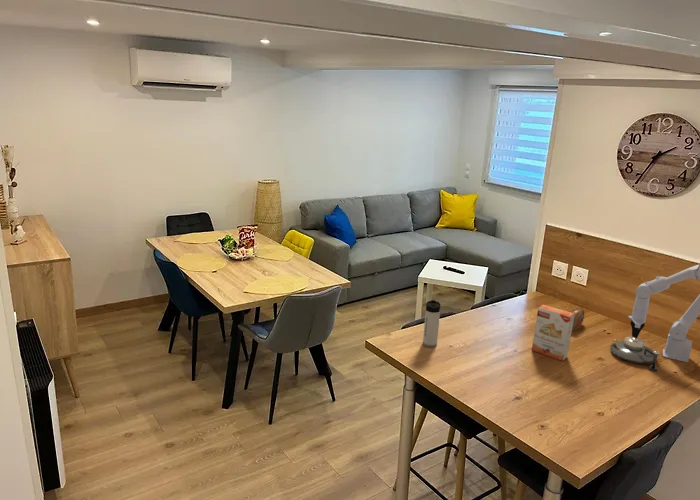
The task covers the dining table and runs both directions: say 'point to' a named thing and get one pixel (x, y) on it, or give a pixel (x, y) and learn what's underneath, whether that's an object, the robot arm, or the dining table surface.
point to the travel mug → (431, 323)
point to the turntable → (630, 353)
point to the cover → (634, 343)
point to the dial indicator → (655, 353)
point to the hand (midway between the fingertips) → (634, 336)
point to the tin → (578, 318)
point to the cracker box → (553, 332)
